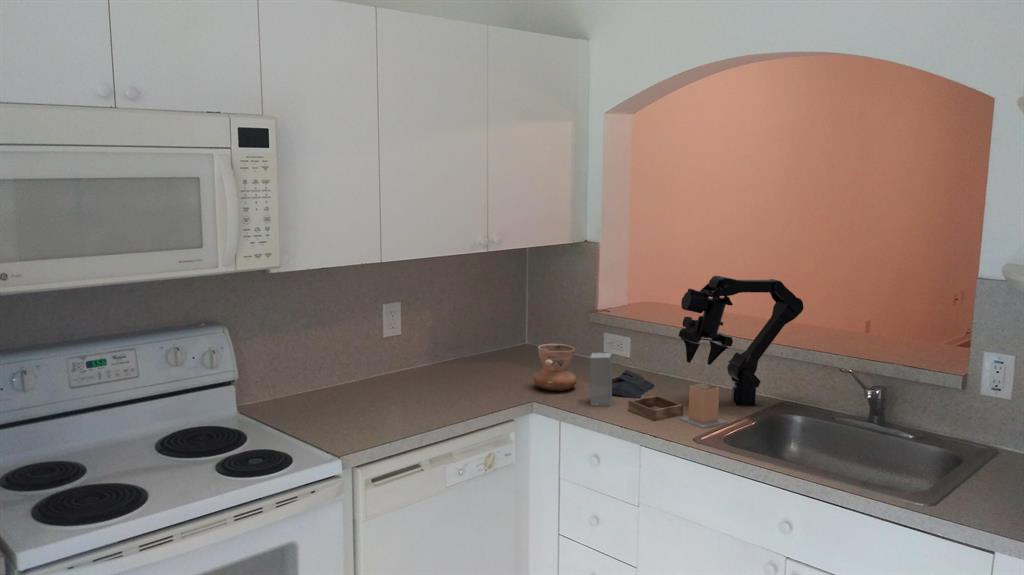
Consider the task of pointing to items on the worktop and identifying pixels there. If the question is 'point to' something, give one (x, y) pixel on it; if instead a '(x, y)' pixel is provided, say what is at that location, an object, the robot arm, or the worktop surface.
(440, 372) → the worktop surface
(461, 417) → the worktop surface
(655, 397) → the brown wooden tray
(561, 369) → the brown clay vase
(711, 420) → the lidded terracotta box
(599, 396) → the skincare box
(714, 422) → the rubber mat
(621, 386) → the dark slate chunk
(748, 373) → the robot arm
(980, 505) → the worktop surface
